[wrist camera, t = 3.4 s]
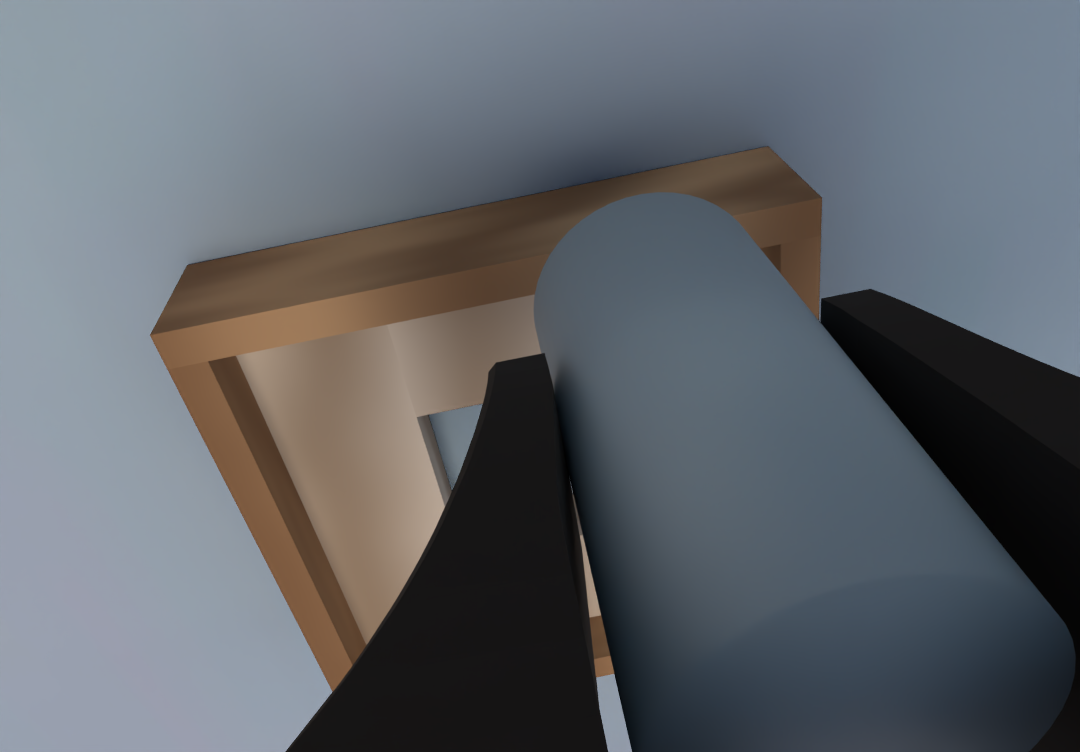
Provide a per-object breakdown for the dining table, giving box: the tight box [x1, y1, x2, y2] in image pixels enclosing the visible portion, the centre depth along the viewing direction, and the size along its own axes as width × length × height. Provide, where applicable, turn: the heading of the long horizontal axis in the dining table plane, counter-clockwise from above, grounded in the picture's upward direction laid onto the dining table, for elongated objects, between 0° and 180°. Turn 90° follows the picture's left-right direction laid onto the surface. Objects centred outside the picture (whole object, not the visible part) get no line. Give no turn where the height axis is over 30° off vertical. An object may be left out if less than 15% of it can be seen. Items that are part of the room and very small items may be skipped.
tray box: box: [150, 146, 822, 691], centre depth 21 cm, size 13×13×3 cm
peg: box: [533, 192, 1076, 752], centre depth 9 cm, size 3×3×7 cm
